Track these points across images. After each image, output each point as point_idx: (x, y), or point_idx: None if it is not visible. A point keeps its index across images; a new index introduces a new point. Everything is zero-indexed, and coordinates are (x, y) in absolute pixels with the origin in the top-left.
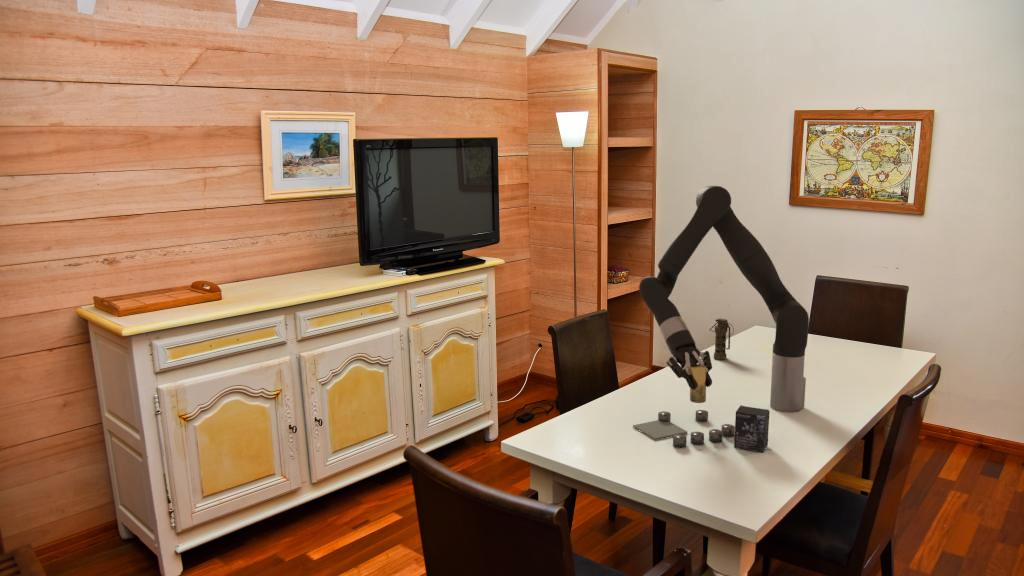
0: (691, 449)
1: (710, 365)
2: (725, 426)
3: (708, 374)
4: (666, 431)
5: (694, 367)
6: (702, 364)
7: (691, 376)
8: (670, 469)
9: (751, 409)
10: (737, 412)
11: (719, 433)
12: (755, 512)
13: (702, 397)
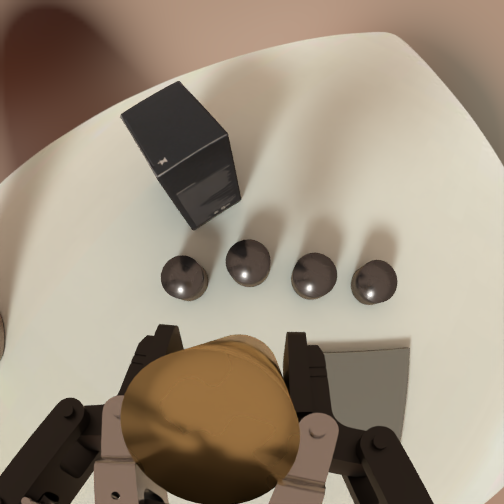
0: (354, 247)
1: (57, 419)
2: (187, 281)
3: (126, 384)
4: (350, 381)
5: (262, 438)
6: (116, 459)
7: (304, 401)
8: (445, 185)
9: (163, 128)
10: (224, 131)
11: (247, 243)
12: (372, 41)
13: (240, 335)
